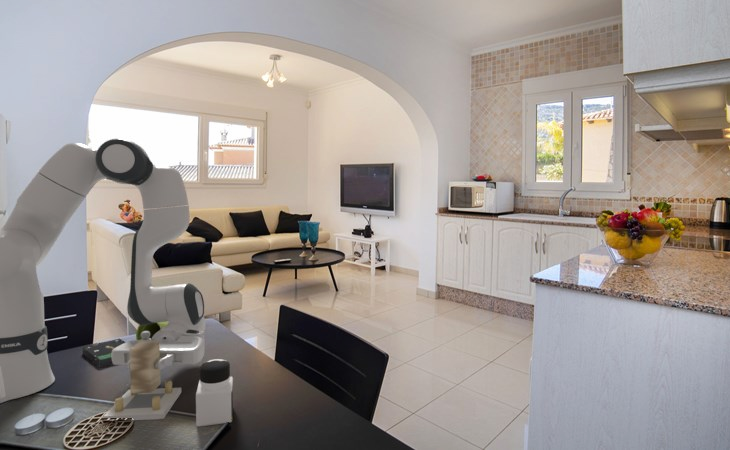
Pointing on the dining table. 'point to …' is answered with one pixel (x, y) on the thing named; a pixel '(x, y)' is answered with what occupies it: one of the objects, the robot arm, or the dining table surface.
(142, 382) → the maple block
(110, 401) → the dining table surface
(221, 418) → the medicine bottle
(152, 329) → the plant pot
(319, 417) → the dining table surface
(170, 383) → the white pegged board
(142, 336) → the chess piece
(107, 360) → the disk drive
